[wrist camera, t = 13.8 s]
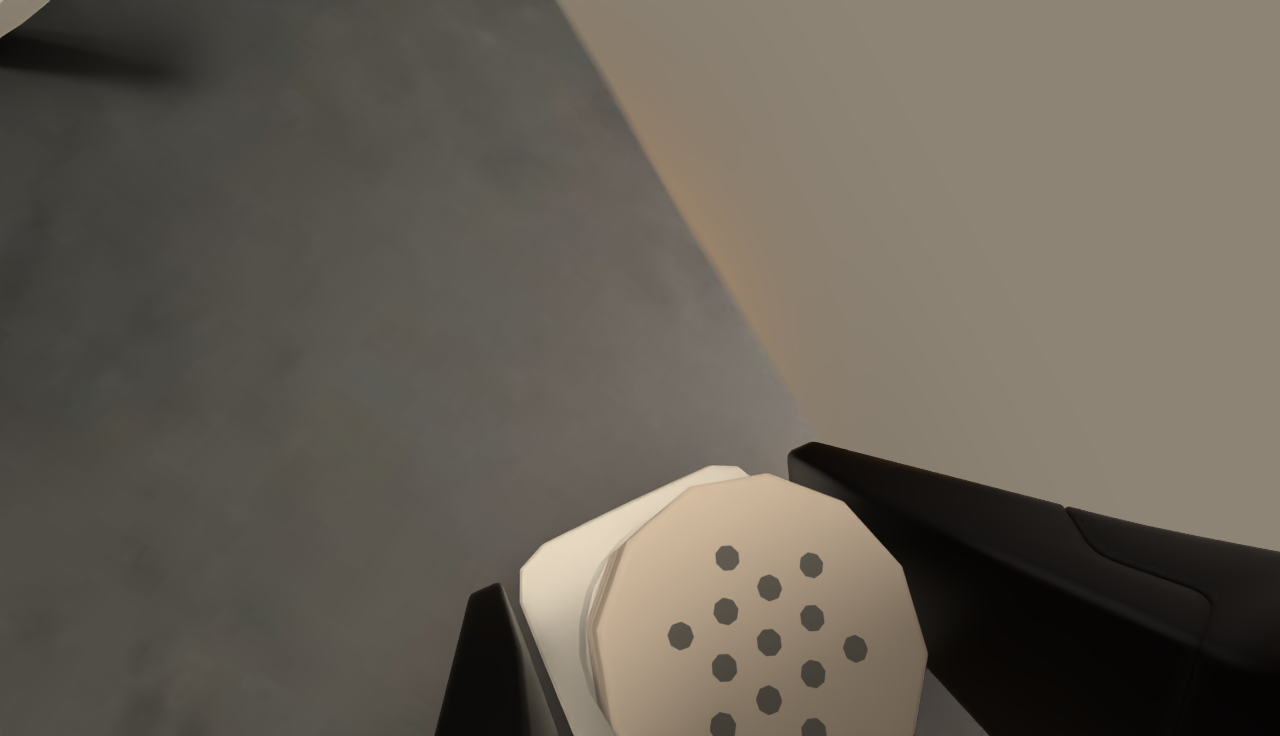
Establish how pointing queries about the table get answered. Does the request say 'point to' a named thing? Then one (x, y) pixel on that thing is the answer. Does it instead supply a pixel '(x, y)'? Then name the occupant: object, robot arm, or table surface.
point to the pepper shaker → (726, 616)
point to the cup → (17, 13)
